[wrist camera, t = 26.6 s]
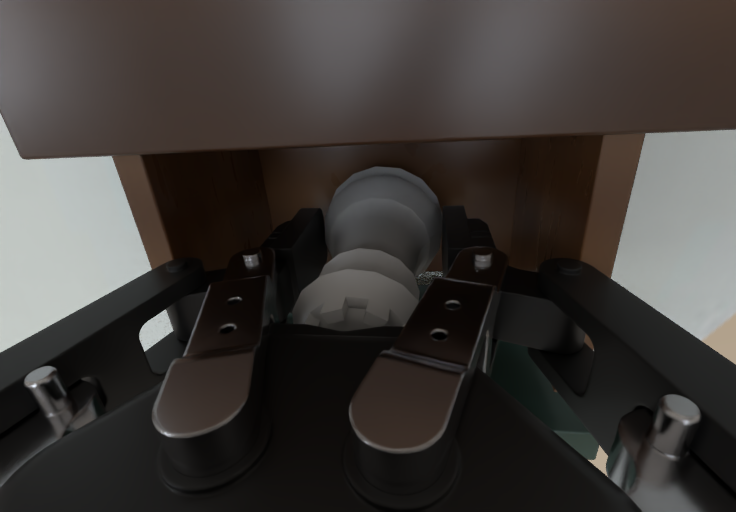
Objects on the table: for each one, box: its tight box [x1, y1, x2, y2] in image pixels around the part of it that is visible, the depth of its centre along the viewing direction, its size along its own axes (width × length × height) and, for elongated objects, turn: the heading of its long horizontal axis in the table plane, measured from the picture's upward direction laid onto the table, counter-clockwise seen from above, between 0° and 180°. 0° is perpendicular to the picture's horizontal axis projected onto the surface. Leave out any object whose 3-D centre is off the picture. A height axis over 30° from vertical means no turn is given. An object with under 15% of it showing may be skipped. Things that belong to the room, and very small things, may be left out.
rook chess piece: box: [292, 166, 442, 331], centre depth 12 cm, size 4×4×8 cm
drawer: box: [112, 133, 645, 460], centre depth 15 cm, size 19×13×8 cm
